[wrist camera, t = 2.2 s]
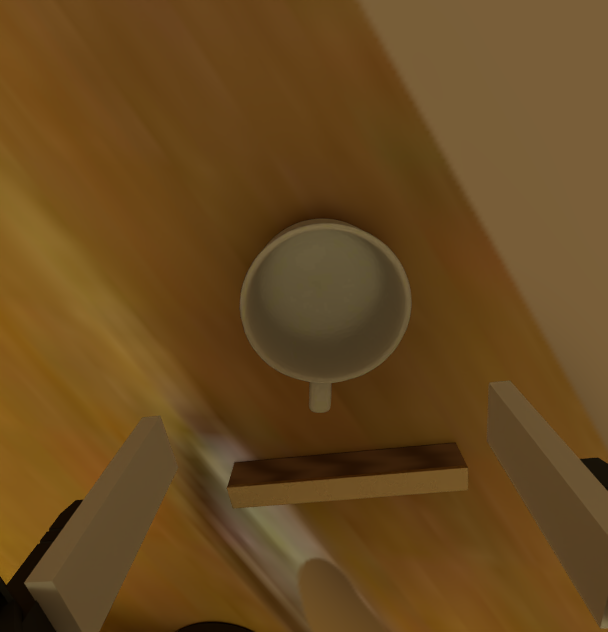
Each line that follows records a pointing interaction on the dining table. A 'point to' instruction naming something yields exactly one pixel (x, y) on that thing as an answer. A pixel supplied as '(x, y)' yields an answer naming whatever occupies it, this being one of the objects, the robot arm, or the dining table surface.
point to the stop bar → (348, 476)
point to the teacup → (325, 304)
